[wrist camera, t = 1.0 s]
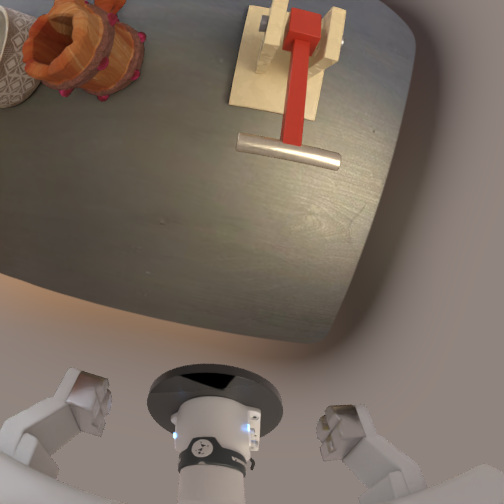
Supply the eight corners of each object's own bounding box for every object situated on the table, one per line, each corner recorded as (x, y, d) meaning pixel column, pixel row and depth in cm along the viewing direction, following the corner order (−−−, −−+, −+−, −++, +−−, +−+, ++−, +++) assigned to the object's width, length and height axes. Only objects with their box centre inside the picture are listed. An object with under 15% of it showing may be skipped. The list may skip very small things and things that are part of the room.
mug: (146, 102, 27) (77, 90, 14) (83, 104, 26) (-4, 104, 13) (168, -11, 21) (127, -78, 8) (105, -4, 21) (41, -51, 7)
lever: (330, 175, 17) (345, 165, 15) (234, 157, 17) (236, 142, 14) (335, 40, 18) (346, 22, 15) (260, 22, 17) (265, 1, 15)
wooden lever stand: (311, 121, 29) (356, 120, 17) (228, 105, 28) (222, 90, 16) (329, 26, 24) (376, -17, 13) (249, 8, 23) (255, -49, 12)
